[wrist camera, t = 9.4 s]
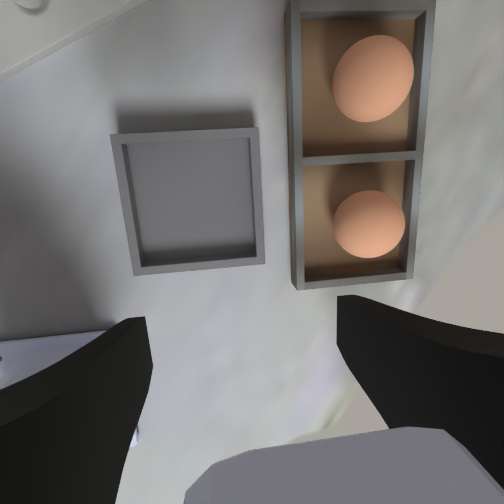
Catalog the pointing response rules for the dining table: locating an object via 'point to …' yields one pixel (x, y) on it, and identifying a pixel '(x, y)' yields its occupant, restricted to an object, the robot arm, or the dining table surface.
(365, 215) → the terracotta ball
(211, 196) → the shallow grey square tray
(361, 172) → the pair tray
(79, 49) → the dining table surface
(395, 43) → the ball
